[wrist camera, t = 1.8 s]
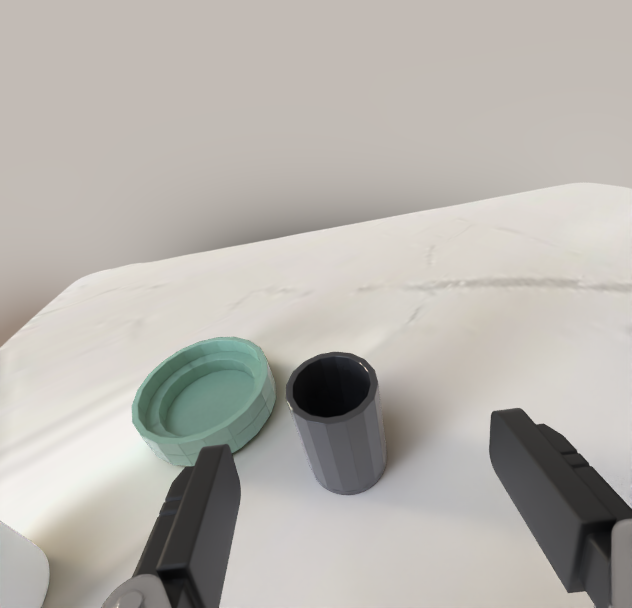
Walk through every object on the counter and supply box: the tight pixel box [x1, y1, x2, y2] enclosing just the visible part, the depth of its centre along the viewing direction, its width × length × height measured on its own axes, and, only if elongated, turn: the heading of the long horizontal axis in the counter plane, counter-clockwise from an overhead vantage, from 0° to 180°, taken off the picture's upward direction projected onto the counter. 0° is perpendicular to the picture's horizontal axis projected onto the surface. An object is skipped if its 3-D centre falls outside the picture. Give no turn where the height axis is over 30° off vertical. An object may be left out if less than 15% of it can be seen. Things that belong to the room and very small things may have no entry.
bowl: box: [132, 337, 276, 466], centre depth 36 cm, size 13×13×4 cm
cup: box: [286, 352, 387, 495], centre depth 28 cm, size 6×6×9 cm
